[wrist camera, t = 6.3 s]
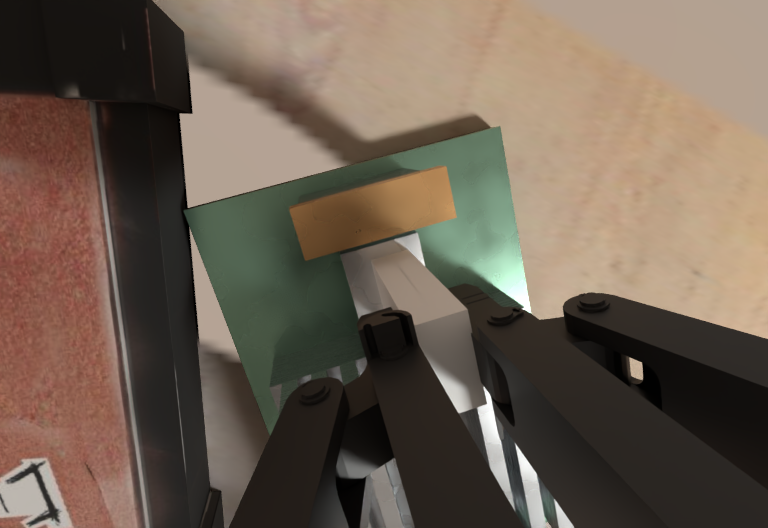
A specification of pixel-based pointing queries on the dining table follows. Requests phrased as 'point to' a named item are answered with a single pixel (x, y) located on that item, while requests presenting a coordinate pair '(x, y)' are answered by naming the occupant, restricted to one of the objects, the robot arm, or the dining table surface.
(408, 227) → the heatsink
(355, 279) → the strap
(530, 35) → the dining table surface
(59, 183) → the brown labeled slab
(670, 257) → the dining table surface
